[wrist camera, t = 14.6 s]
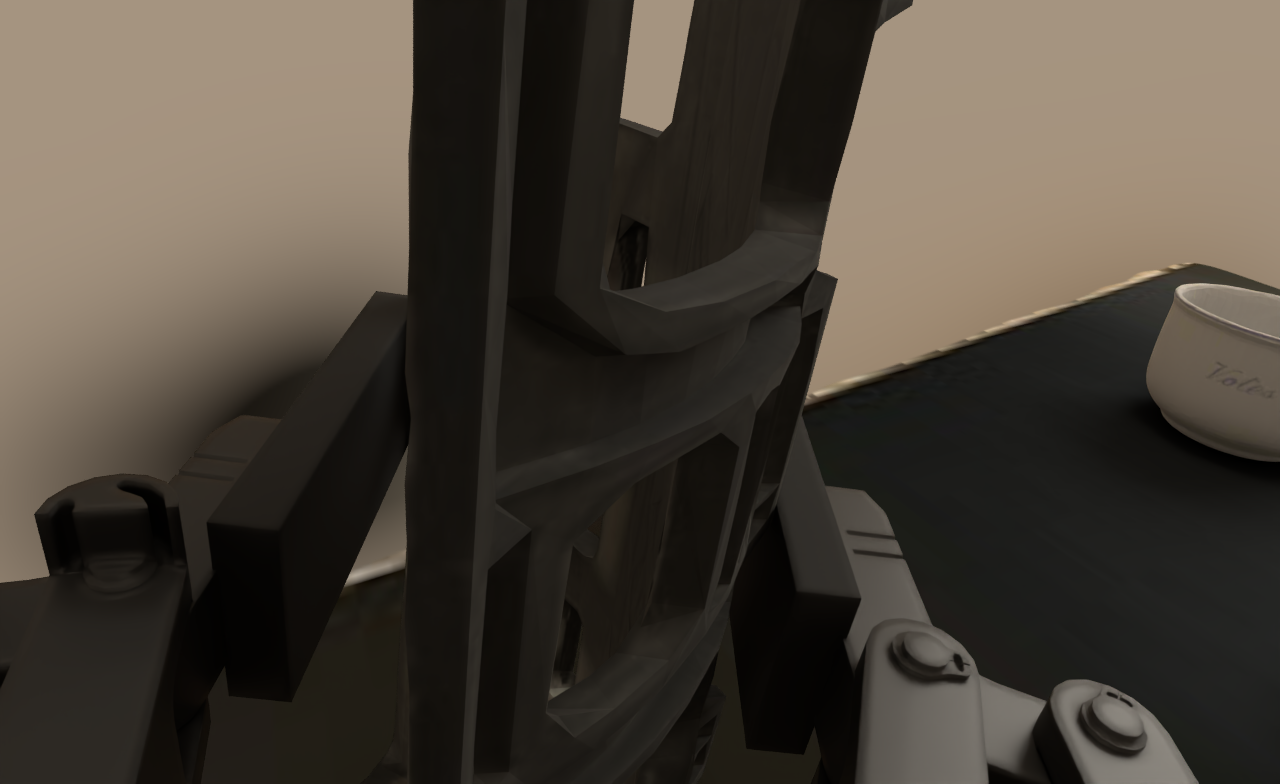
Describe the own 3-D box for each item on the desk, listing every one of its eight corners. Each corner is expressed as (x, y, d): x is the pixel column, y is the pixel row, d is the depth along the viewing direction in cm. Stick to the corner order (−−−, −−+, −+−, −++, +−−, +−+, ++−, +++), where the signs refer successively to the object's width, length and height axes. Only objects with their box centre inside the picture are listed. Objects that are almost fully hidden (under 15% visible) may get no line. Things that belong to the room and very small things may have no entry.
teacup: (1164, 463, 46) (1236, 332, 42) (1097, 374, 55) (1150, 261, 51) (1425, 514, 45) (1522, 385, 41) (1311, 415, 54) (1382, 303, 51)
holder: (216, 811, 19) (111, -310, 10) (538, 733, 22) (676, -159, 13) (219, 1613, 10) (-708, -2006, 1) (754, 1285, 13) (1599, -282, 4)
